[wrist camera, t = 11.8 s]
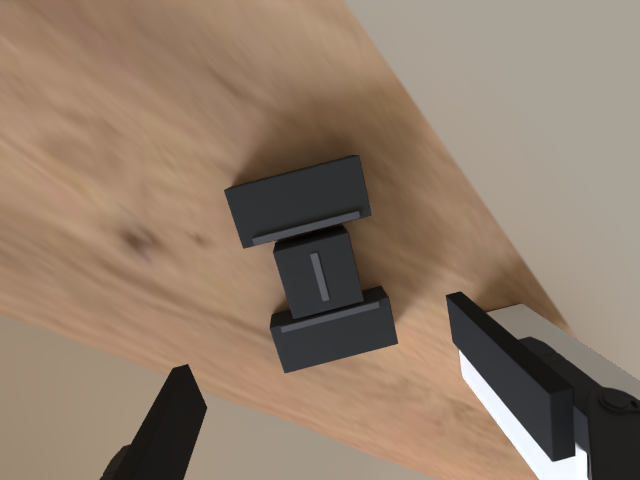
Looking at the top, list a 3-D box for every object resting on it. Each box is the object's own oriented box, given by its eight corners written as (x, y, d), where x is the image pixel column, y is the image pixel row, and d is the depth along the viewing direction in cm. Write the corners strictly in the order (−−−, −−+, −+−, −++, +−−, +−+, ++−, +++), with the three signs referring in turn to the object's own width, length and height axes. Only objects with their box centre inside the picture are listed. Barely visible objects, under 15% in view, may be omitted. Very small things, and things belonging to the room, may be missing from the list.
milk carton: (521, 301, 32) (812, 491, 14) (525, 360, 34) (786, 594, 16) (453, 318, 32) (657, 532, 14) (461, 376, 34) (650, 630, 16)
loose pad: (275, 242, 29) (272, 252, 26) (343, 224, 29) (348, 232, 26) (293, 304, 31) (293, 319, 28) (357, 287, 31) (364, 301, 28)
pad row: (230, 187, 27) (223, 190, 25) (353, 155, 28) (359, 154, 25) (285, 357, 32) (284, 375, 30) (390, 329, 32) (399, 345, 30)
